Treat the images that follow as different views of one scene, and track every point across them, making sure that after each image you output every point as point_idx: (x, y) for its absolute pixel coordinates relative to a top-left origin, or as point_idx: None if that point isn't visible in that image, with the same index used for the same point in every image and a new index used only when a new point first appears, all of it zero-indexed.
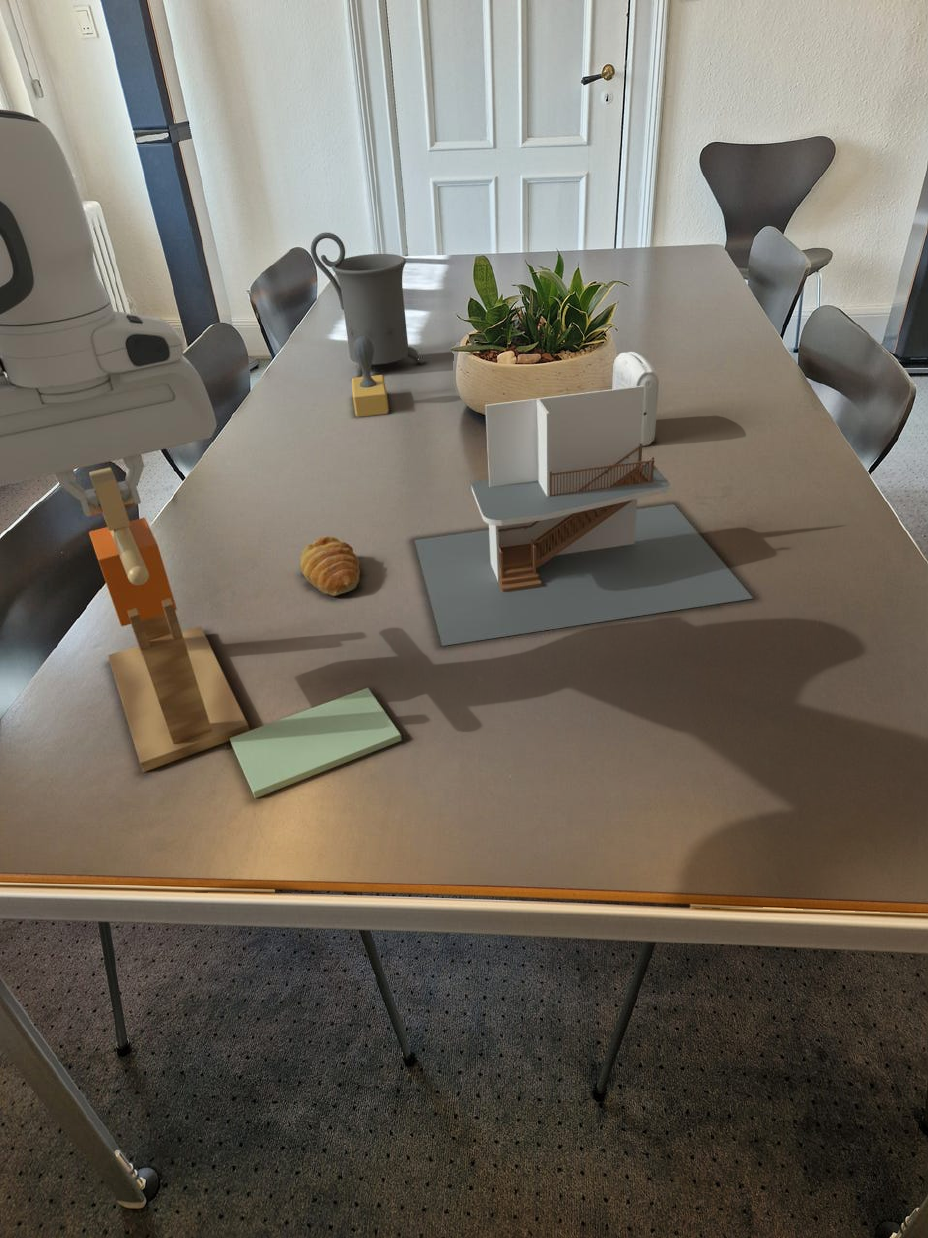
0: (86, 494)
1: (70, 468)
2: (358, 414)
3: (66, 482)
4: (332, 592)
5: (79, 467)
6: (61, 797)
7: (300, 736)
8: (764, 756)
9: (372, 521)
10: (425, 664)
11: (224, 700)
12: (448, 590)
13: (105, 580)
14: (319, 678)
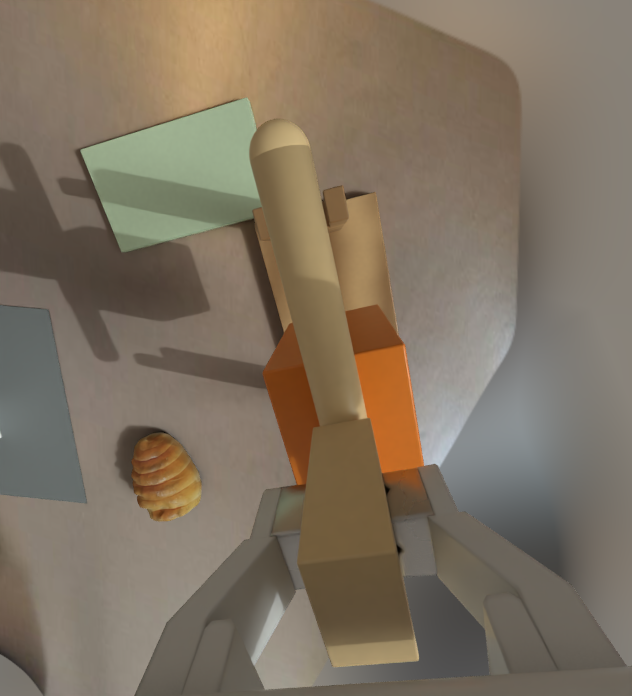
0: (431, 543)
1: (546, 686)
2: None
3: (537, 593)
4: (166, 437)
5: (478, 680)
6: (464, 181)
7: (195, 186)
8: None
9: (133, 549)
10: (66, 283)
11: (280, 278)
12: (45, 405)
13: (393, 328)
14: (182, 298)
